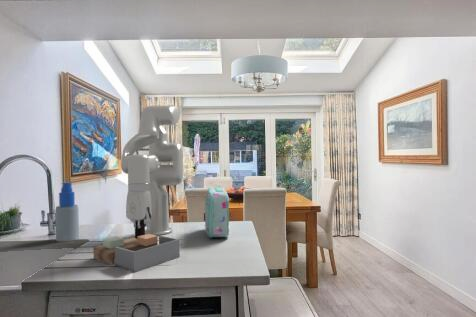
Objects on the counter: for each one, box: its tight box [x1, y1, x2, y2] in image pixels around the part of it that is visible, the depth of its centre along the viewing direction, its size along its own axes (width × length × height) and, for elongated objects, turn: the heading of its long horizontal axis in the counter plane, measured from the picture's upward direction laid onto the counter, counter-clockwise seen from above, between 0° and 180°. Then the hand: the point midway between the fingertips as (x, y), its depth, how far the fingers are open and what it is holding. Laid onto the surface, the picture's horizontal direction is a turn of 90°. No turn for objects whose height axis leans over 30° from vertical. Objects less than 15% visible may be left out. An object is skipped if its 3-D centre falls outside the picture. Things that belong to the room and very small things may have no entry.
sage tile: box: [102, 236, 125, 249], centre depth 108 cm, size 5×5×2 cm
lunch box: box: [203, 185, 230, 238], centre depth 141 cm, size 27×10×21 cm, turn 9°
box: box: [114, 235, 181, 273], centre depth 103 cm, size 11×18×6 cm, turn 143°
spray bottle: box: [54, 182, 80, 242], centre depth 137 cm, size 9×9×25 cm
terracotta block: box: [137, 234, 159, 246], centre depth 111 cm, size 5×5×2 cm
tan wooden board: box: [93, 236, 159, 266], centre depth 111 cm, size 12×18×4 cm, turn 143°
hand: (140, 238), depth 113 cm, fingers closed
